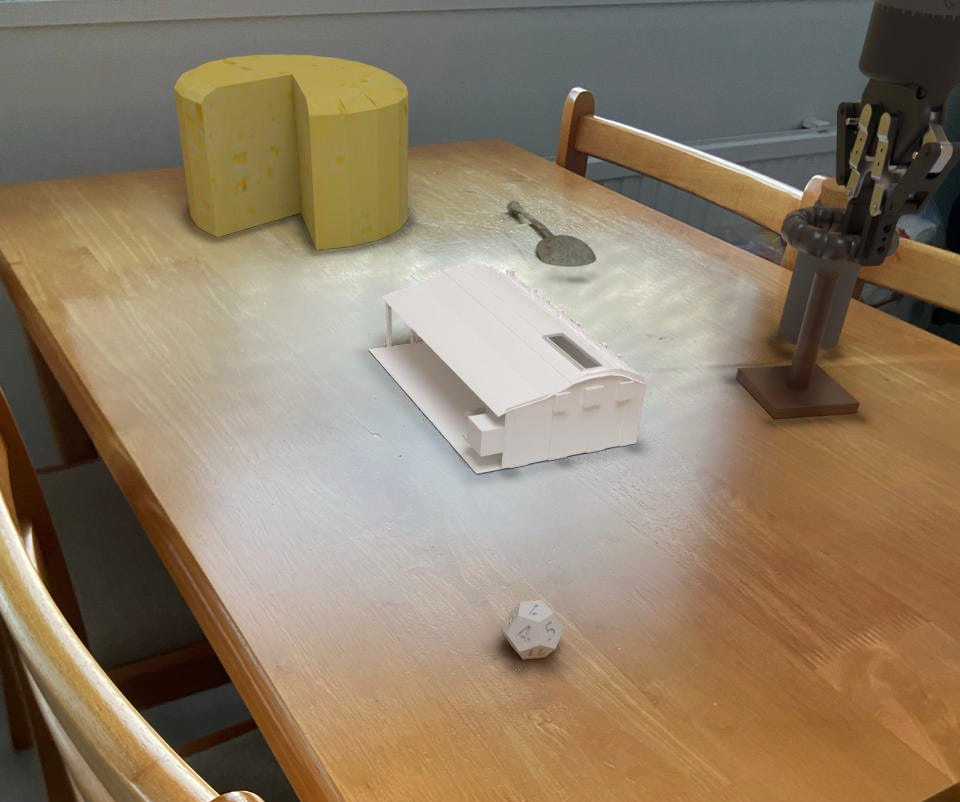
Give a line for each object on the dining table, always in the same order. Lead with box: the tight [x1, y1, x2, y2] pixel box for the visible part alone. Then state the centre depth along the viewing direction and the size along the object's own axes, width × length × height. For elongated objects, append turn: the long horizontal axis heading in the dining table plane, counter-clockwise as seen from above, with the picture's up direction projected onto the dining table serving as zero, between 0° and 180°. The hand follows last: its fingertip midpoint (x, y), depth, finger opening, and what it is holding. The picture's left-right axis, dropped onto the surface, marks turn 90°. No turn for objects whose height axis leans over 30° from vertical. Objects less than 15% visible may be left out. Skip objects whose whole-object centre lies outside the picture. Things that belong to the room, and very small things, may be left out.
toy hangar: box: [367, 261, 647, 475], centre depth 86 cm, size 25×15×7 cm, turn 25°
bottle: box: [777, 177, 862, 350], centre depth 95 cm, size 6×6×15 cm
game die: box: [501, 599, 564, 661], centre depth 61 cm, size 4×4×3 cm
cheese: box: [173, 53, 409, 251], centre depth 118 cm, size 26×26×15 cm
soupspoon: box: [506, 199, 597, 268], centre depth 118 cm, size 22×3×7 cm
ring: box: [780, 205, 900, 262], centre depth 81 cm, size 9×9×2 cm
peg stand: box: [735, 269, 860, 419], centre depth 87 cm, size 8×8×11 cm
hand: (859, 256), depth 79 cm, fingers closed on ring, 2 cm apart
